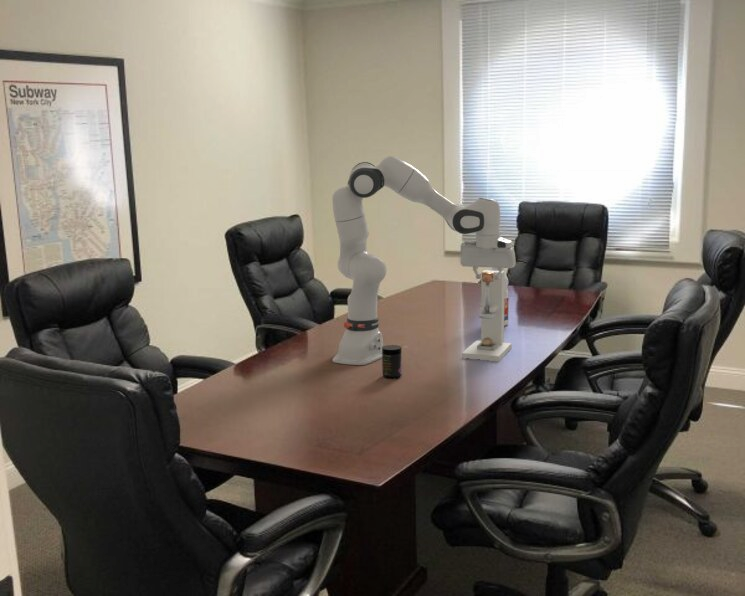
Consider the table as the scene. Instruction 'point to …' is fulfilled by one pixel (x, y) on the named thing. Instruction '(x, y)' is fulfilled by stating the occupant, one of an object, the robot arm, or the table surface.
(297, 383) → the table surface
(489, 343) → the walnut
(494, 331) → the press frame
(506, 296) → the fruit juice
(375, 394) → the table surface
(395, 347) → the supplement container
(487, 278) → the plunger
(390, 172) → the robot arm
